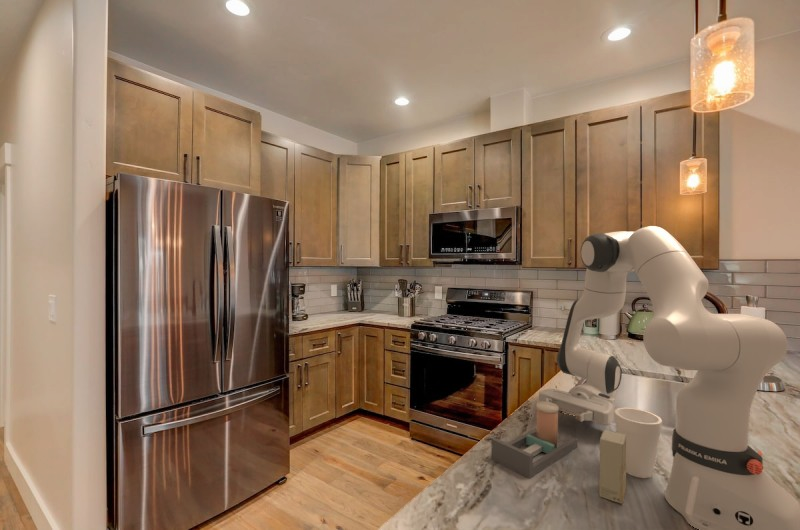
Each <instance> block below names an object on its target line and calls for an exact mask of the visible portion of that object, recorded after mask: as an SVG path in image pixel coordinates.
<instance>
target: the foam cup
mask: <svg viewBox="0 0 800 530" xmlns="http://www.w3.org/2000/svg"><path fill="white" fill-rule="evenodd" d="M613 422H614V424H615V430H616V431H615V432H618V433H622V434H626V474H628V475H630V476H633V477H637V478H638V479H639V478H640V479H649V478H651V477H652V476H653V474H654V469H655V466H656V465H655V464H656V459H657V456H658V455H657V454H658V448H659V445H660V444H659V442H660V438H661V433H662V432H663V419H662V418H661V417H660V416H658V415H656V414H655V413H654V412H653V413H652V412H649V411H648V410H647V411H646V410H644V409H639V408H634V407H618V408H615V410H614V420H613Z"/></svg>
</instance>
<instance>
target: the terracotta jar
mask: <svg viewBox="0 0 800 530" xmlns="http://www.w3.org/2000/svg"><path fill="white" fill-rule="evenodd" d="M559 411H560V410H559V407H558V405H556V404H554V403H551V402H545V401H541V402H539V401H538V402H536V427H535V428H536V437H537V438H539V439H542V440H544V441H547V442H549V443H551V444H554V445H555V449H556V448H557V447H558V436H559V435H558V433H559V432H558V431H559V430H558V428H559Z"/></svg>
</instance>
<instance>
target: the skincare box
mask: <svg viewBox="0 0 800 530" xmlns="http://www.w3.org/2000/svg"><path fill="white" fill-rule="evenodd" d="M598 480H599V487H598V488H599V493H598V494H599V497H600V498H603V499H606V500H609V501H612V502H614V503H618V504H621V505H623V503H624V499H625V496H626V492H627V473H626V434H622V433H618V432H617V431H614V430H609V429H604V428H603V431H602V432H601V435H600V438H599V479H598Z"/></svg>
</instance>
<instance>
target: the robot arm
mask: <svg viewBox="0 0 800 530" xmlns="http://www.w3.org/2000/svg"><path fill="white" fill-rule="evenodd" d="M580 258H581V262H582V264H583V265H584V266H585V268H586V271H585V276H584V286H583V292H582V294H581V296H580V297H579V298H578V299H576V300H574V301H573V303H572V305H571V306H570V309H569V313H568V315H567V316H568V317H567V320H566V324H565V328H564V333H563V336H562V340H561V344H560V346H559V349H558V352H557V354H556V364H557V366H558V368H559V369H560V370H561V371H560V372H562V373H563V374H566V375H570V376H573V377H578V378H580V379H583V380H585V382H584V383H581V384H578V385H576V386H573V387H571V388H570V389H569V390H568V392H567V391H564V390H560V389H557V388H547V389H543V390H540V391H539V392H538V399H537V400H538V402H541V401H545V402H551V403H554V404H556V405H558V407H559V411H561V412H564V413H567V414H570V415H573V416H575V420H576V421H579V422H583V421H588V422H589V421H591V422H593V423H596V424H599V425H602V426H610V425H611V424H612V423H613V422H614V410H616V402H615V399H616V397H617V395H618V389H619V386H620V385H621V381H622V374H623V372H622V367H621V364H620V362H619V361H618V360H617V358H616V357H615V356H613V355H611V354H607V353H604V352H601V351H597V350H593V349H590V348H586V347H583V346H582V345H580V343H579V341H580V337H581V334H582V329H583V327H584V323H585V321H589V320H595V319H603V318H607V317H612V316H614V315H615V314H617V313H619V312H620V311H621V310H622V308H624V305H625V301H626V296H627V295H626V294H627V278H628V274H629V273H632V272H633V273H634V272H635V274H636V276H637V278H638V280H639V282H640V283H641V284H642V287H643V289H644V290H645V292H646V294H647V296H648V298H649V300H650V302H651V305H652V309H653V310H652V311H653V312H652V313H653V315H652V319H650V321H649V322H648V323H647V324H646V325H645V328H644V331H643V337H642V338H643V344H644V349H645V350H646V352H647V354H648V356H649V357H650V358H651V359H652V360H653V361H654V362H655V363H656V364H658V365H660V366H664V367H669V368H672V369H678V370H683V371H696V373H695V375H694V376H693V378H692V379H691V380H690V381H689V382H688V383H687V384H685V385H683V386H682V387H681V388H680V389H679V390H678V392H677V395H676V397H675V398H676V399H675V401H676V404H675V405H676V406H675V428H673V431H672V434H671V435H672V436H671V452H672V453H671V454H672V457H673V459H672V466H671V472H670V476H669V480H668V482H667V485H666V486H665V490H664V492H663V496H664V498H665V500H666V502H667V503H668V504H669V506H671V507H672V508H673V509H674V510H675V511H677V512H678V513H679V514H680V515H682V516H683V518H684V519H685V521H686V522H687V523H688V525H689V524H690V525H691V527H692V526H693V527H694V528H693V527H692V528H693V529H695V528H697V529H700V530H800V503H799V502H798V501H797V499H796V498H795V497H793V495H792V494H790V493H789V492H788V491H786V490H785V489H784V488H783V487H782V486H781V485H780V484H779V483H777V482H776V481H775V480H773V479H772V478H771V477H770V476H769V475H768V474H766V473H765V471H763V470H764V465H763V463H764V462H763V457H762V455H763V454H762V451H761V450H759V451H758V452H756V450H754V449H753V448H752V447H751V446H750V445H749V427H750V416H751V415H750V413H751V408H752V405H753V404H752V403H753V401H754V397H755V395H756V393H757V391H758V389H759V387H760V386H761V383H762V382H763V380H764V378H765V377H766V375H767V373H768V372H769V371H770V370H771V369H772V368H773V367H774V366H776V365H777V364H779V363H780V362H781V361H783V360H784V358H785V357H786V355H787V352H788V350H789V349H788V348H789V345H788V344H789V343H788V338H787V336H786V334H785V333H784V331H783V330H782V329H781V327H780V326H778V324H776V323H775V322H773V321H771V320H769V319H767V318H762V317H758V316H755V315H749V314H744V313H712V312H710V311H709V310H708V309H706V308H705V306H704V304H703V302H702V299H703V298H704V297H706V295H707V292H708V291H709V287H710V283H709V280H708V278H707V277H706V275H705V274H704V273H703V271H702V270H701V269H700V268H699V266H698V265H697V263H696V262H695V260H694V259H693V258H692V257H691V255H690V254H689V253H688V251H687V250H686V249H685V248H684V246H683V245H682V244H681V243H680V242H679V241H678V240H677V239H676V238H675V236H673V235H672V234H671V233H669V232H668V231H667V230H666V229H664V228H662V227H660V226H657V225H656V226H655V225H649V226H645V227H644V226H643V227H641V228H639V229H637V230H635V231H625V230H623V231H622V230H620V231H611V232H605V233H603V232H600V233H599V232H598V233H594V234H591V235H589V236H587V237H585V239H584V240H583V242H582V243H581V247H580ZM690 525H689V526H690ZM697 529H696V530H697Z"/></svg>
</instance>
